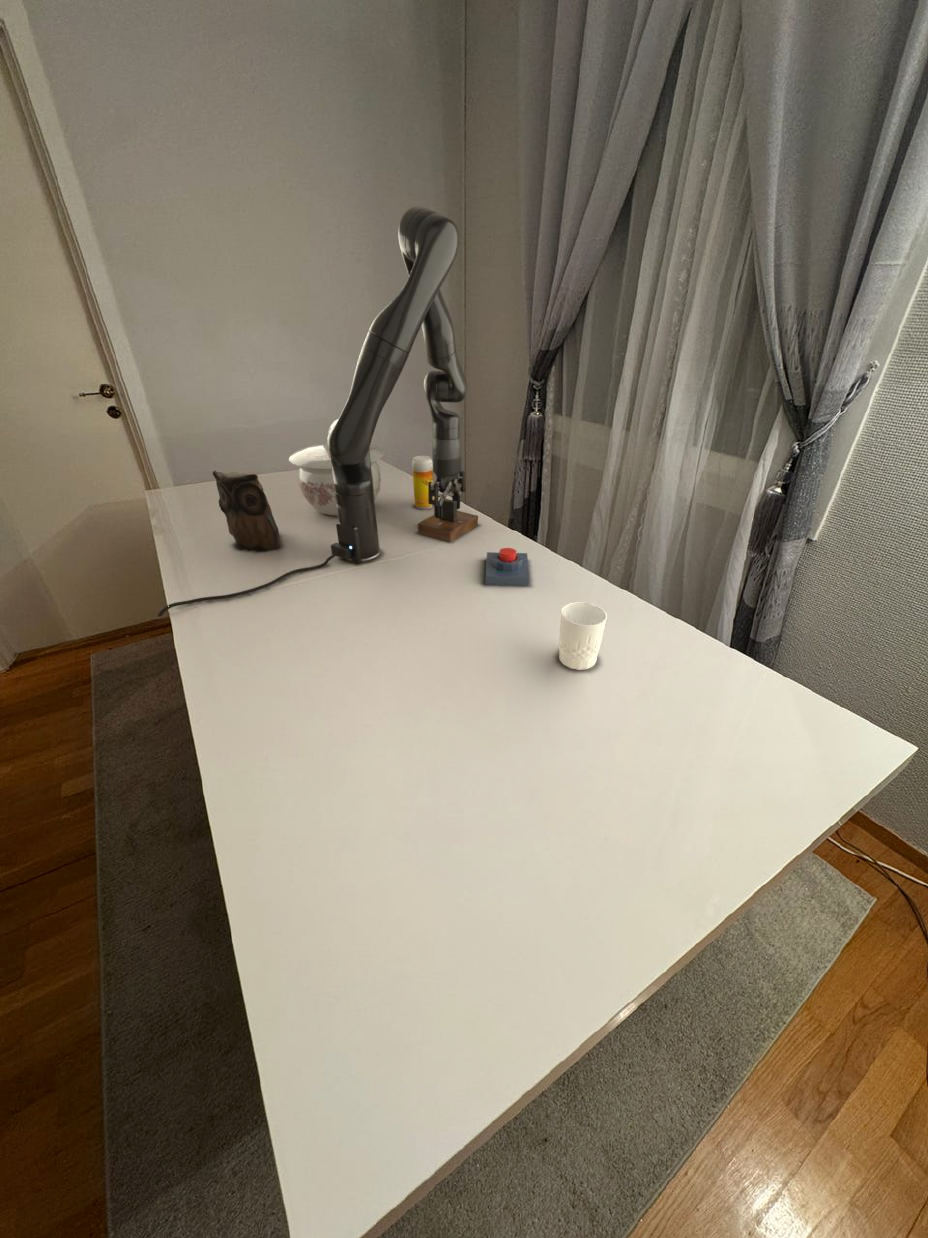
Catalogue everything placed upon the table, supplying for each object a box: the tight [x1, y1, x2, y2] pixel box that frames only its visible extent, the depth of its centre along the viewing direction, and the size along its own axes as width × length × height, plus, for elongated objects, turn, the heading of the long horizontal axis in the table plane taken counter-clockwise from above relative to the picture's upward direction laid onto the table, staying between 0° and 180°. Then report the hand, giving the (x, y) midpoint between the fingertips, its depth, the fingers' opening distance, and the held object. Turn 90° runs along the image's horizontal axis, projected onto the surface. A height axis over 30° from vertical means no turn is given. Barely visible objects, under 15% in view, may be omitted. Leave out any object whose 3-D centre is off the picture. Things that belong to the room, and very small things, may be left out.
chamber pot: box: [288, 442, 385, 517], centre depth 156 cm, size 28×28×21 cm
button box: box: [484, 551, 530, 587], centre depth 124 cm, size 13×10×4 cm
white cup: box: [558, 601, 608, 671], centre depth 93 cm, size 8×8×10 cm
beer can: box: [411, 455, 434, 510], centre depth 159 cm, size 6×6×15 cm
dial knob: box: [438, 498, 458, 522], centre depth 144 cm, size 5×2×6 cm, turn 56°
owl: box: [212, 470, 281, 553], centre depth 134 cm, size 13×13×20 cm
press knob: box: [498, 547, 517, 562], centre depth 123 cm, size 4×4×2 cm
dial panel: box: [417, 510, 479, 543], centre depth 147 cm, size 14×11×3 cm
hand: (447, 513), depth 145 cm, fingers open, 8 cm apart
